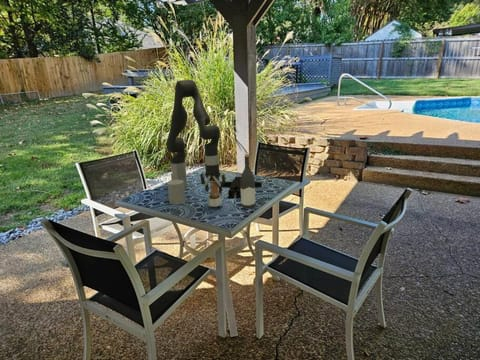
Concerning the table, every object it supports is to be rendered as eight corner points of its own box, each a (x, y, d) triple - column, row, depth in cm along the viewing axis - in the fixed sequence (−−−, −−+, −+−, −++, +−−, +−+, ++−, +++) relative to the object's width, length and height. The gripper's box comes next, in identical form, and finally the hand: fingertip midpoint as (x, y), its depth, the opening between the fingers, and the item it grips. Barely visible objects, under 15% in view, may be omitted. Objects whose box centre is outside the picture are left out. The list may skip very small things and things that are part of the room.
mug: (206, 209, 176) (205, 196, 173) (213, 200, 188) (212, 187, 185) (219, 210, 174) (218, 196, 171) (225, 201, 186) (225, 188, 184)
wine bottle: (253, 201, 184) (252, 151, 175) (256, 207, 176) (255, 155, 167) (240, 203, 183) (238, 152, 173) (242, 208, 175) (240, 156, 166)
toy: (209, 190, 190) (218, 175, 219) (210, 198, 192) (218, 182, 220) (260, 190, 187) (262, 175, 215) (260, 199, 189) (262, 182, 217)
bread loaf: (210, 203, 176) (209, 183, 172) (212, 200, 180) (211, 180, 176) (216, 203, 175) (216, 183, 171) (218, 201, 179) (218, 181, 175)
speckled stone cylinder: (166, 201, 190) (164, 181, 186) (181, 197, 195) (179, 178, 191) (173, 205, 182) (171, 185, 178) (188, 201, 188) (186, 182, 184)
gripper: (197, 164, 168) (199, 193, 174) (222, 165, 165) (224, 194, 170) (201, 160, 175) (203, 188, 180) (226, 161, 172) (228, 190, 177)
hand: (213, 191), depth 175 cm, fingers open, 6 cm apart
